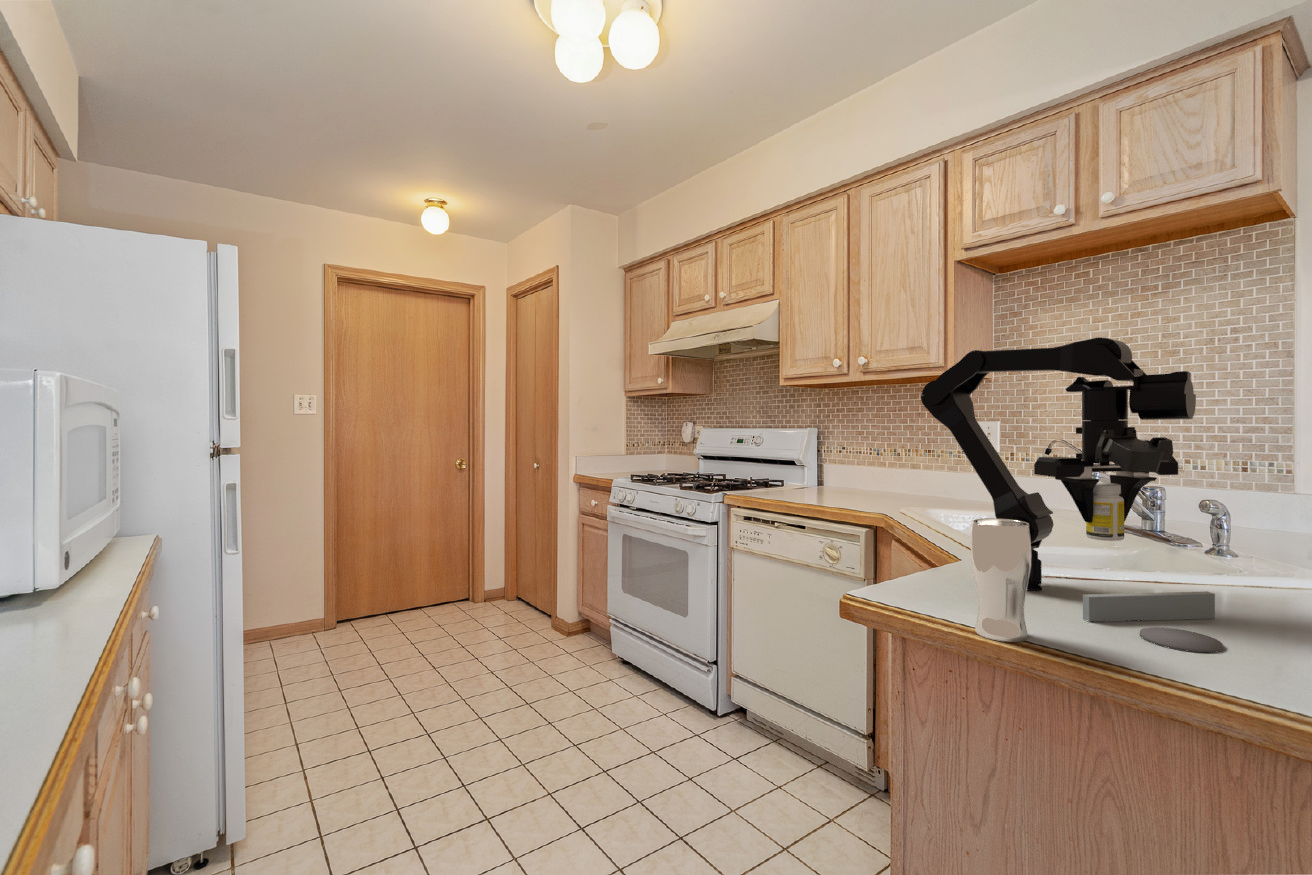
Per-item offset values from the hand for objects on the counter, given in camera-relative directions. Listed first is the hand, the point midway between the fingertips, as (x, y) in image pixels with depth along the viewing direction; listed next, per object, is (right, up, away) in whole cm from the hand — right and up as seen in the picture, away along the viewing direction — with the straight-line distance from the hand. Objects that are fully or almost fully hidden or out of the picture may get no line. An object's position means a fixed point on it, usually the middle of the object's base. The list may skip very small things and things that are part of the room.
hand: (1104, 521), depth 94 cm
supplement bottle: (0, -3, 0) cm, 3 cm away
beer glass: (-23, -13, -13) cm, 30 cm away
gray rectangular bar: (0, -13, -8) cm, 15 cm away
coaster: (-2, -13, -16) cm, 21 cm away
